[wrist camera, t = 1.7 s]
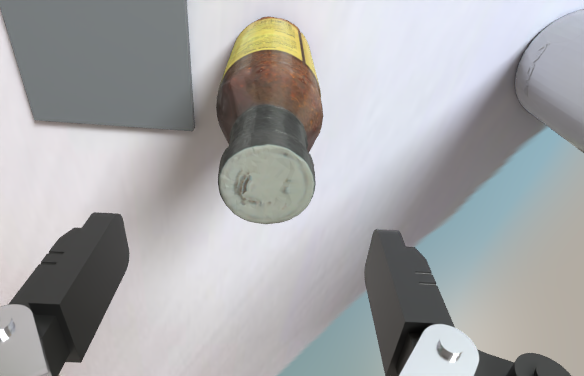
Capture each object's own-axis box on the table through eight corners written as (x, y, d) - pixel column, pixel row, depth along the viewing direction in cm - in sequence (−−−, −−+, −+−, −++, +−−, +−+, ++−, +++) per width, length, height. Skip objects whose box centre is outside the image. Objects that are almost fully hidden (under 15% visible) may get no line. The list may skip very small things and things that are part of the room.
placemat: (185, -20, 29) (182, -19, 29) (194, 127, 36) (193, 131, 35) (-6, -36, 29) (-13, -35, 28) (39, 116, 35) (34, 120, 34)
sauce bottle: (220, 54, 32) (142, 180, 15) (271, -5, 30) (246, 69, 13) (276, 107, 35) (262, 265, 18) (328, 57, 32) (368, 185, 16)
